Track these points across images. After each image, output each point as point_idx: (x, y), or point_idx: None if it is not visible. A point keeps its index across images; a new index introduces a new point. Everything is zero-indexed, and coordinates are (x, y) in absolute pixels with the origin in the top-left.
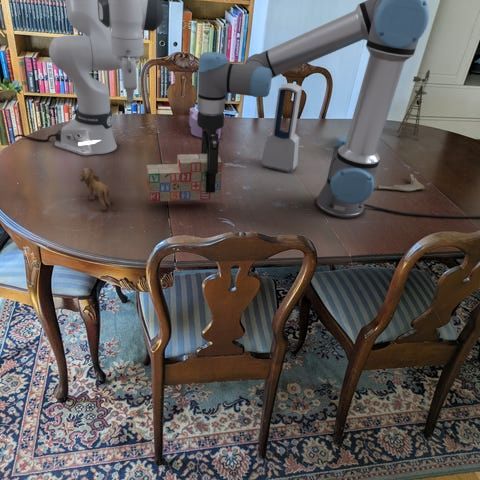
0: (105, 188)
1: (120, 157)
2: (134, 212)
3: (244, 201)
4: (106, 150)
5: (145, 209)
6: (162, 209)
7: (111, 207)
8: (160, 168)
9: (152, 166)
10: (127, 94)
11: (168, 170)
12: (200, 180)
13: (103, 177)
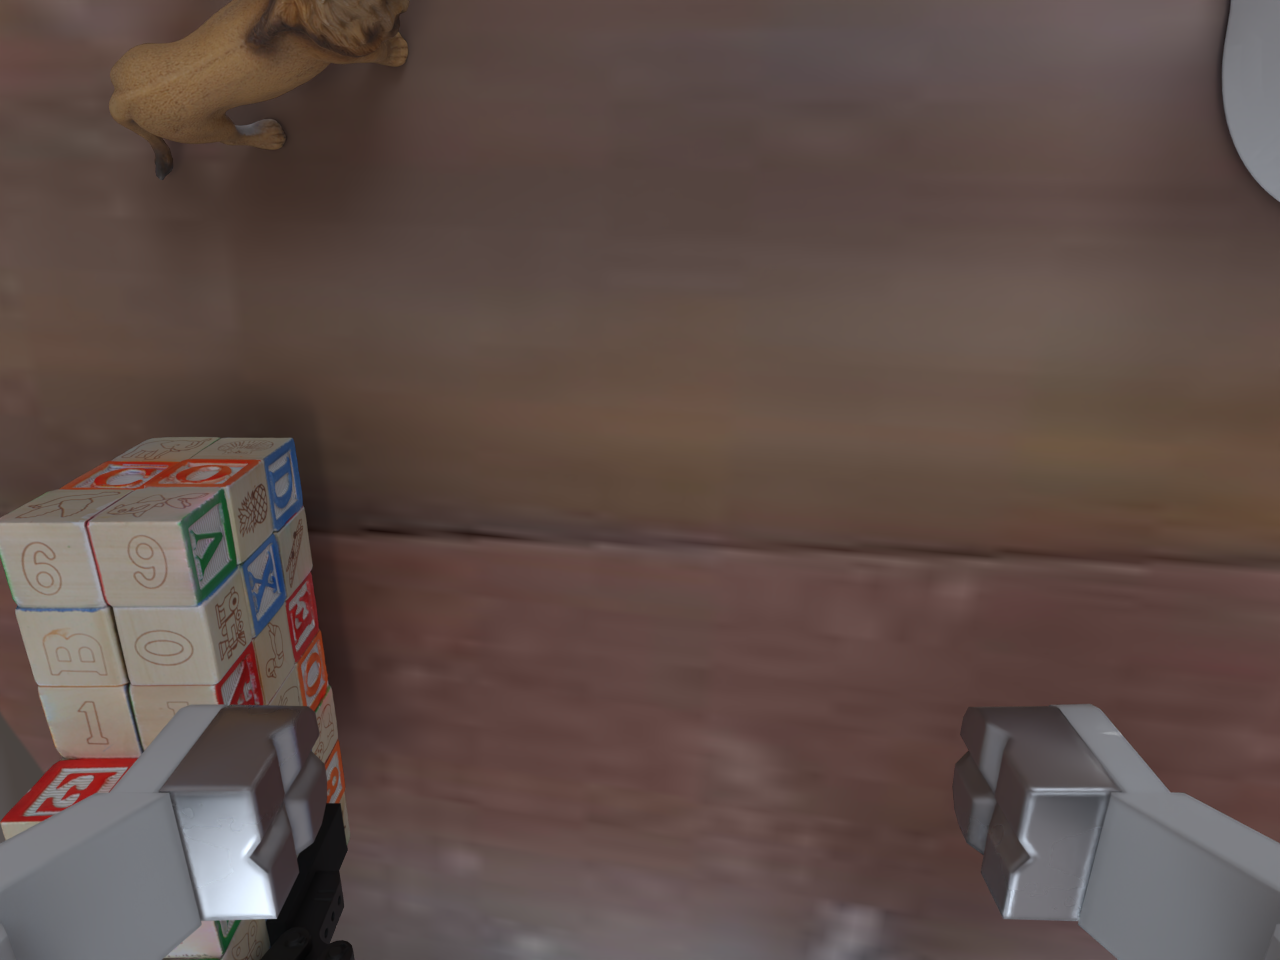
0: (130, 113)
1: (1114, 248)
2: (175, 316)
3: (368, 913)
4: (1250, 123)
5: (224, 389)
6: None
7: (157, 157)
8: (119, 624)
9: (152, 565)
10: (37, 843)
11: (81, 681)
12: None
13: (735, 94)
